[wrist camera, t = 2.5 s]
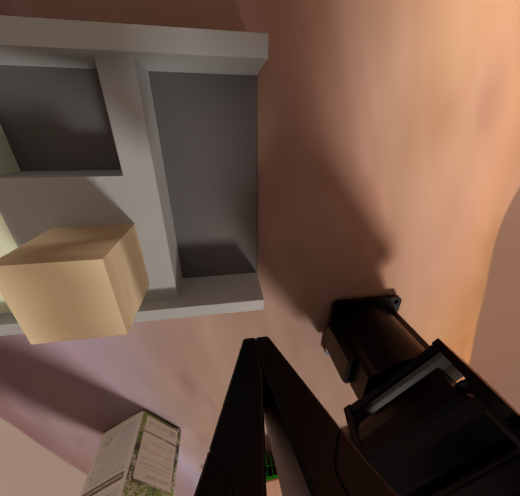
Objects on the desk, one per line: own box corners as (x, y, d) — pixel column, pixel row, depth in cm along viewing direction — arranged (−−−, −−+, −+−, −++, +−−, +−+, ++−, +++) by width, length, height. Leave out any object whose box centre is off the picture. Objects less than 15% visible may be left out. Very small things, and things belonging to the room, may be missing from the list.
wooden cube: (135, 223, 13) (102, 259, 9) (149, 284, 15) (127, 334, 11) (52, 227, 12) (-16, 266, 9) (78, 290, 14) (31, 344, 10)
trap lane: (256, 57, 12) (268, 33, 9) (256, 279, 19) (263, 309, 16) (-244, 31, 10) (-468, -17, 6) (-46, 304, 16) (-111, 347, 13)
